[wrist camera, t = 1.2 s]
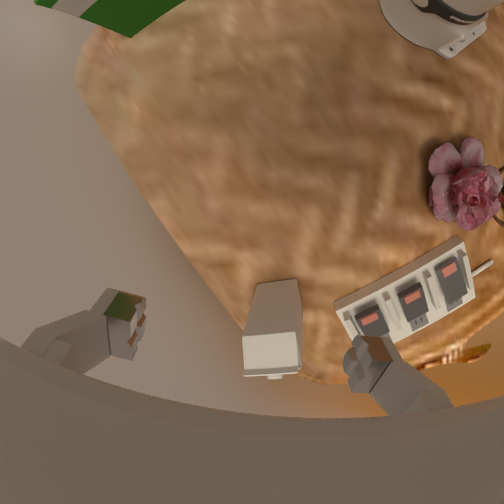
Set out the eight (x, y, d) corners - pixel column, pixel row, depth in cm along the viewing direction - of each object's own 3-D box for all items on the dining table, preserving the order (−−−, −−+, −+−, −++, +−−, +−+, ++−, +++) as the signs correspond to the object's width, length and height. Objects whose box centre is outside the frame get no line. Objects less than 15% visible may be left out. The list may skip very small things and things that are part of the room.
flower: (408, 147, 36) (450, 172, 28) (472, 126, 33) (513, 146, 25) (418, 227, 44) (449, 260, 36) (475, 200, 42) (508, 227, 34)
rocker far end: (376, 301, 44) (380, 310, 42) (387, 324, 47) (390, 332, 45) (353, 313, 45) (356, 321, 44) (365, 335, 49) (368, 343, 47)
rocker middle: (418, 279, 41) (423, 287, 40) (425, 304, 44) (429, 312, 43) (395, 291, 43) (399, 300, 41) (404, 315, 46) (408, 323, 44)
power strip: (482, 218, 40) (498, 228, 35) (493, 273, 43) (507, 286, 38) (333, 302, 50) (337, 320, 45) (359, 348, 54) (363, 366, 49)
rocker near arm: (453, 255, 40) (457, 258, 38) (464, 289, 41) (468, 293, 39) (433, 267, 42) (437, 270, 40) (445, 301, 42) (448, 305, 40)
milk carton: (257, 283, 51) (236, 356, 34) (297, 277, 50) (294, 352, 32) (265, 316, 54) (249, 392, 36) (302, 311, 52) (301, 390, 35)
